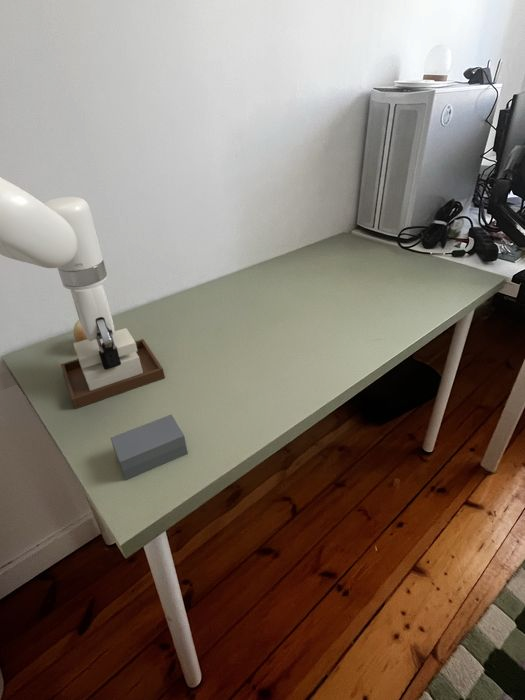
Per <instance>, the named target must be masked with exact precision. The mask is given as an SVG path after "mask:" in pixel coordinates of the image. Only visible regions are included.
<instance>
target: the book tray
mask: <svg viewBox="0 0 525 700" xmlns="http://www.w3.org/2000/svg"><path fill="white" fill-rule="evenodd" d="M134 341H135V343H136V347H137V351H136V353H137V355H138V356H139V359H140V363H141V367H142V371H143V373H142V374H139V375H136V376H133V377H130V378H127V379H124V380H121V381H118V382H115V383H112V384H109V385H106V386H103V387H100V388H97V389H94V390H91V391H90V390H89V387H88V384H87V382H86V379H85V377H84V374H83V371H82V368H81V365H80V362H79V360H78V358H76V359H73V360H69V361H66V362H63V363H60V367H61V370H62V373H63V376H64V379H65V383H66V385H67V389H68V392H69V395H70V398H71V401H72V404H73V407H74V409H75V410H77V409H81V408H84V407H86V406H89V405H92V404H95V403H97V402H100V401H103V400H105V399H108V398H111V397H114V396H117V395H120V394H123V393H126V392H128V391H129V392H130V391H131V390H134V389H138V388H140V387H144V386H146V385H149V384H152V383H154V382H157V381H160V380H164V379H165V378H166V375H165V372H164V368H163V366H162V365H161V363H160V362H159V360H158V358H157V357H156V356H155V354H154V353H153V351H152V350H151V348H150V347H149V345H148V343H147V342H146V341H145V339H144V338H142V339H138V340H134Z"/></svg>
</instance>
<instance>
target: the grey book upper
mask: <svg viewBox="0 0 525 700" xmlns="http://www.w3.org/2000/svg"><path fill="white" fill-rule="evenodd" d="M110 441H111V444H112V447H114V448H113V451H114V450H115V451H114V453H116V454H115V456H116V455H117V456H116V459H117V458H118V459H117V461H118V460H119V462H118V464H119V463H120V464H119V466H120V465H121V467H120V469H121V468H122V469H121V471H122V470H123V471H124V470H127V469H129V468H131V467H134V466H136V465H139V464H141V463H143V462H146V461H148V460H150V459H153V458H155V457H158V456H160V455H162V454H165V453H167V452H169V451H172V450H174V449H177V448H179V447H181V446H184V445H186V446H187V441H186V437H185V434H184V432H183V431H182V429H181V427H180V426H179V424H178V423H177V421H176V419H175V418H174V416H173V414H168V415H166V416H163V417H160V418H158V419H155V420H152V421H149V422H147V423H145V424H142V425H140V426H137V427H135V428H132V429H129V430H127V431H124V432H121V433H119V434H116V435H114V436H110Z"/></svg>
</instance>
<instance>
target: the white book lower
mask: <svg viewBox="0 0 525 700" xmlns="http://www.w3.org/2000/svg"><path fill="white" fill-rule="evenodd" d="M142 373H143V371H142V367H141V365H140V366H137V367H134V368H131V369H128V370H124V371H121V372H118V373H115V374H112V375H109V376H106V377H103V378H100V379H97V380H94V381H91V382H88V383H87V384H88V387H89V390H90V391H91V390H94V389H97V388H100V387H103V386H106V385H109V384H112V383H115V382H118V381H121V380H124V379H127V378H130V377H133V376H136V375H139V374H142ZM83 374H84V373H83ZM84 377H85V376H84ZM85 379H86V378H85ZM86 382H87V381H86Z"/></svg>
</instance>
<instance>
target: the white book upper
mask: <svg viewBox="0 0 525 700" xmlns="http://www.w3.org/2000/svg"><path fill="white" fill-rule="evenodd" d="M119 358H120V362H121V365H119V366H116V367H113V368H110V369H107V370H105V369H104V368H103V364H102V362H101V363H98V364H95V365H92V366H88V367H85V368H82V366H81V368H82V371H83V373H84V376H85V378H86V381H87V383H88V382H91V381H94V380H97V379H100V378H103V377H106V376H109V375H112V374H115V373H118V372H121V371H124V370H128V369H131V368H134V367H137V366H140V365H141V363H140V359H139V356H138V355H137V353H136V352H133V353H130V354H127V355H124V356H120V357H119ZM77 359H78V358H77ZM78 360H79V359H78ZM79 362H80V361H79ZM80 365H81V364H80Z"/></svg>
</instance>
